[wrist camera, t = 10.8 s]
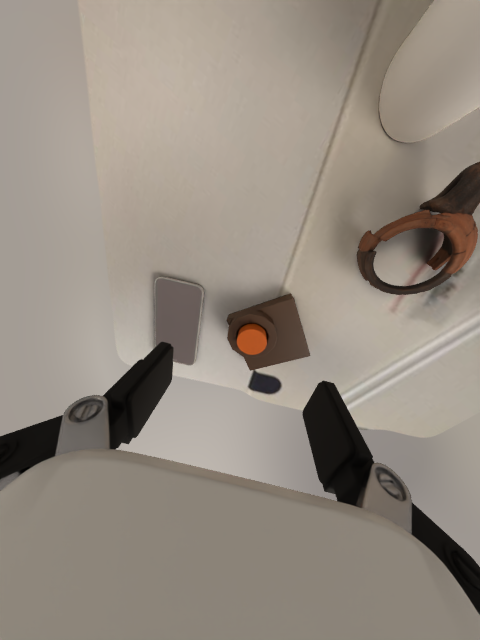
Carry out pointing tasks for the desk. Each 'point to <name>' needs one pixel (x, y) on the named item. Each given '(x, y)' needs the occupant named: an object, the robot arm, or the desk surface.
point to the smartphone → (178, 317)
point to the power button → (251, 339)
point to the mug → (434, 73)
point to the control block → (271, 332)
